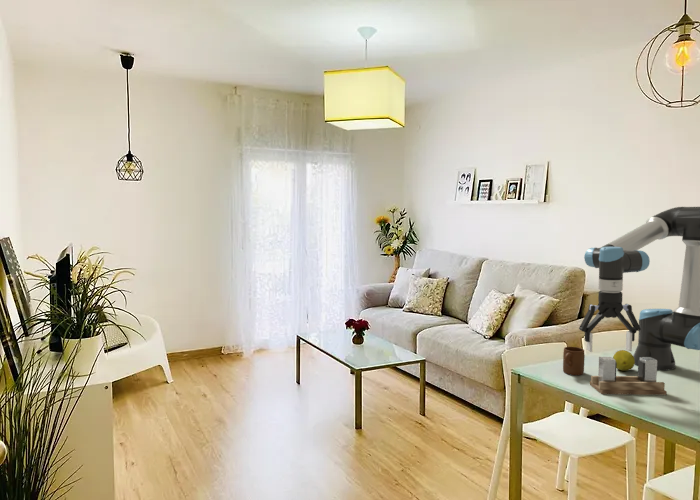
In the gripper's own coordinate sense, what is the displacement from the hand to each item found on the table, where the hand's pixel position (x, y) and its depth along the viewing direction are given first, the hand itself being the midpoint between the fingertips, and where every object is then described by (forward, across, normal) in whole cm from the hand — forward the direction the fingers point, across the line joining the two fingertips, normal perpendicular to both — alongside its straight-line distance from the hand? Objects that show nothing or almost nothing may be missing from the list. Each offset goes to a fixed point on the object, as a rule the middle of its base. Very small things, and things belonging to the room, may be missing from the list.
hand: (609, 350), depth 186 cm
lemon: (+15, +15, +22) cm, 30 cm away
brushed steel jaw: (+13, -1, 0) cm, 13 cm away
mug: (+14, -7, +17) cm, 23 cm away
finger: (+13, +13, 0) cm, 18 cm away
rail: (+14, +6, 0) cm, 15 cm away
